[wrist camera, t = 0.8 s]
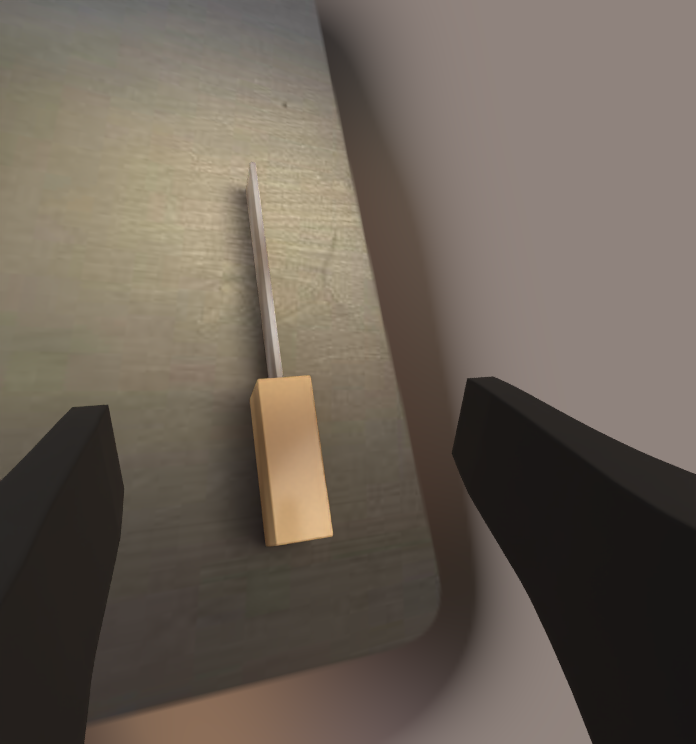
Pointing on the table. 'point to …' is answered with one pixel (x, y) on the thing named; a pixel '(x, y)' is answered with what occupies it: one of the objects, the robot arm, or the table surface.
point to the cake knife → (284, 421)
